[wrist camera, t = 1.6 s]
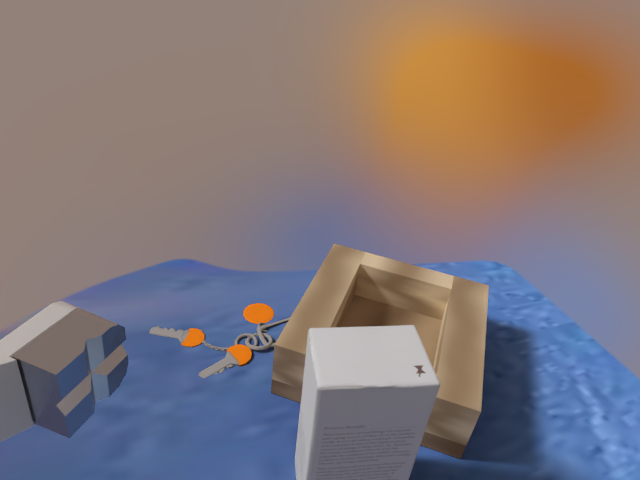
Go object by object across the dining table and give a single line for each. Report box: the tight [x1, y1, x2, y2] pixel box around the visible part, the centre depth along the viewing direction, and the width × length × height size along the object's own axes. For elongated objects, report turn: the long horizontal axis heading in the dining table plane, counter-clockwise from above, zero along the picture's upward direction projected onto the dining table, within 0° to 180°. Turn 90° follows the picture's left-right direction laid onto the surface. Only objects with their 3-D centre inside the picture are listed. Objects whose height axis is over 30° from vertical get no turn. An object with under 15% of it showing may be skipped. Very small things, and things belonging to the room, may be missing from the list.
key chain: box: [150, 303, 291, 378], centre depth 40 cm, size 13×7×1 cm, turn 115°
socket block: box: [271, 244, 489, 459], centre depth 39 cm, size 14×14×5 cm
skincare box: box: [295, 325, 440, 480], centre depth 27 cm, size 6×4×12 cm
